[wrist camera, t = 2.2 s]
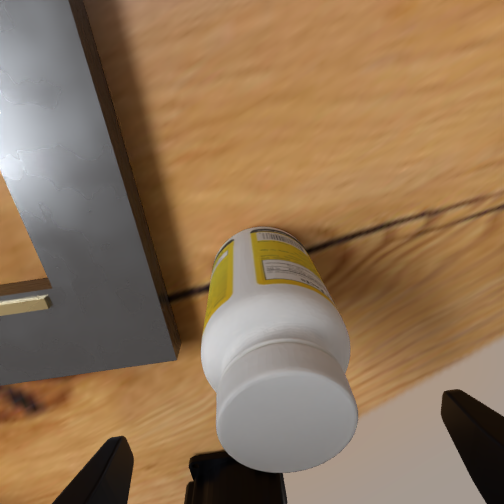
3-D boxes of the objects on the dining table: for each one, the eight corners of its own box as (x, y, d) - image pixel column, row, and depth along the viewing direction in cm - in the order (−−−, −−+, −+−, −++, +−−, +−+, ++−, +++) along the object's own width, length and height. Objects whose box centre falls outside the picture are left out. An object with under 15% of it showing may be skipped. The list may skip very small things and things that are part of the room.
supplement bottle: (235, 324, 19) (232, 508, 10) (197, 245, 17) (149, 387, 8) (322, 293, 19) (401, 460, 10) (292, 208, 17) (357, 317, 8)
